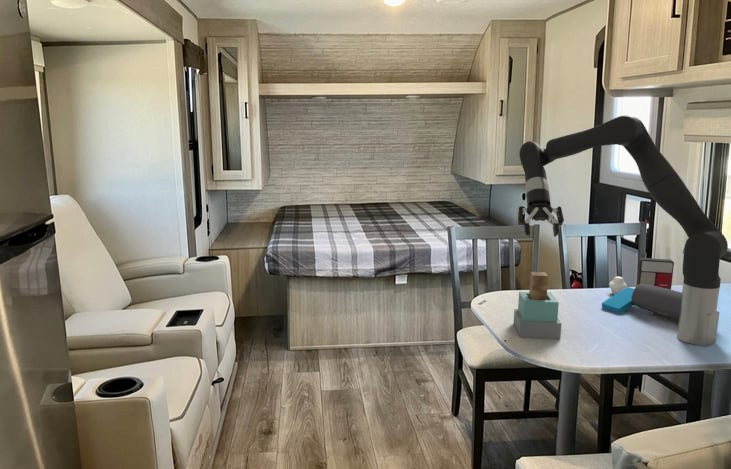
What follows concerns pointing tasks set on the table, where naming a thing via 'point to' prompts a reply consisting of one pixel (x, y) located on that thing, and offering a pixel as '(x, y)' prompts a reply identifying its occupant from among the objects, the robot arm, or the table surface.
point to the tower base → (536, 328)
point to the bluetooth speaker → (658, 301)
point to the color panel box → (655, 272)
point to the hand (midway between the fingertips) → (542, 235)
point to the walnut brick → (538, 286)
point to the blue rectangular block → (619, 301)
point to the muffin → (617, 285)
